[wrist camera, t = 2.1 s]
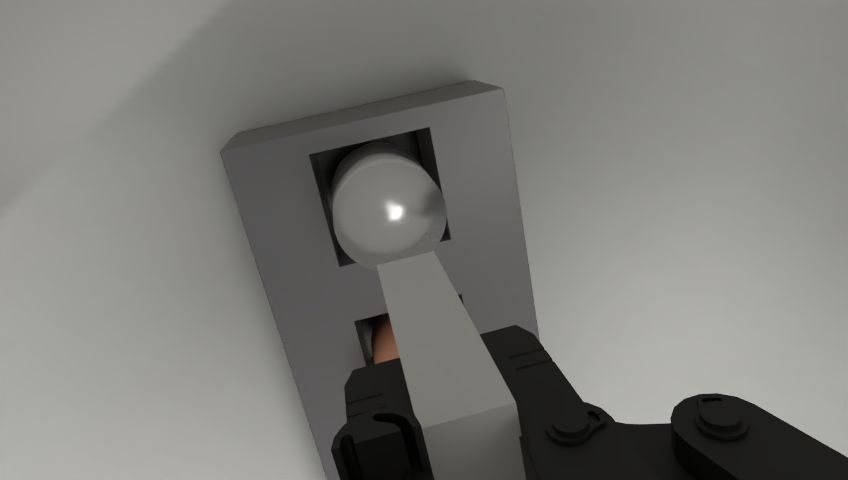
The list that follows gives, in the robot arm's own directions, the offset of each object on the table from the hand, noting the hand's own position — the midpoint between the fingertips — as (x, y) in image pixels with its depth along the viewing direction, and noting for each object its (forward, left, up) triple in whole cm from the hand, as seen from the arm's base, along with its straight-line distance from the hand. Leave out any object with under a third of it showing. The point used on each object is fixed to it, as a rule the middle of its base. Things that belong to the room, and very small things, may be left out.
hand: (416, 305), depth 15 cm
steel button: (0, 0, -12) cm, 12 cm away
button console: (0, +8, -16) cm, 18 cm away
